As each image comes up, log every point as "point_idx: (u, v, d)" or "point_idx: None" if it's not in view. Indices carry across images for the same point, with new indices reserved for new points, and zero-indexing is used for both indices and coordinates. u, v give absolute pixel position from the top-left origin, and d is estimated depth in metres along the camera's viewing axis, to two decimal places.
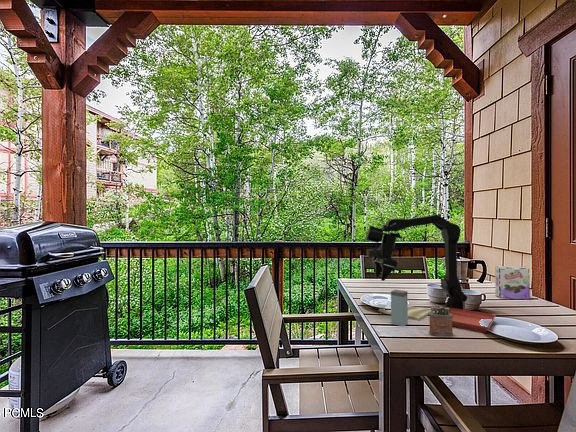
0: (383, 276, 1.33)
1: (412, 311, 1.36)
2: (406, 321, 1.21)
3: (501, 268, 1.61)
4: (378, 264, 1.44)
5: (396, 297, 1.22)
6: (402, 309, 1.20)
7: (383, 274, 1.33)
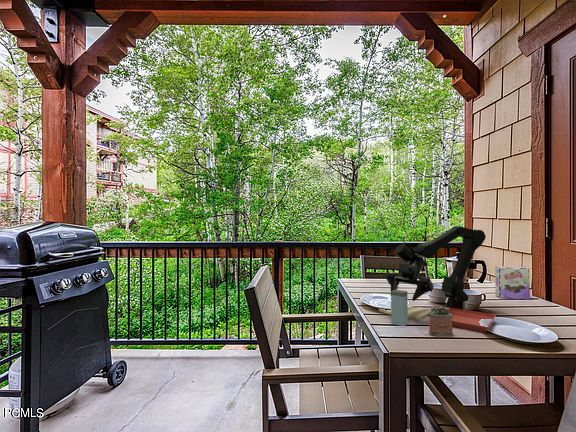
0: (416, 296, 1.22)
1: (412, 311, 1.36)
2: (406, 321, 1.21)
3: (501, 268, 1.61)
4: (395, 283, 1.31)
5: (396, 297, 1.21)
6: (402, 309, 1.20)
7: (417, 294, 1.22)
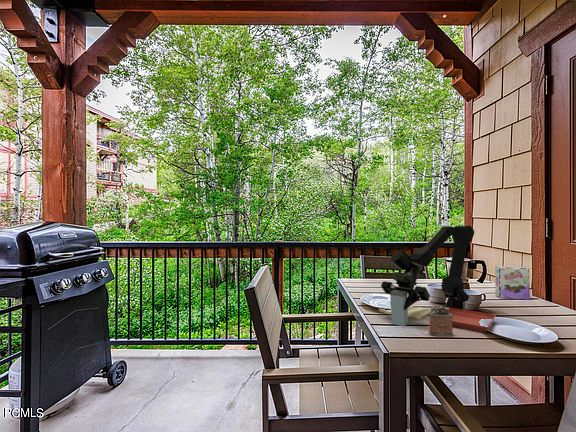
0: (407, 305, 1.20)
1: (412, 311, 1.36)
2: (406, 321, 1.21)
3: (501, 268, 1.61)
4: None
5: (396, 297, 1.21)
6: (402, 309, 1.20)
7: (408, 303, 1.20)
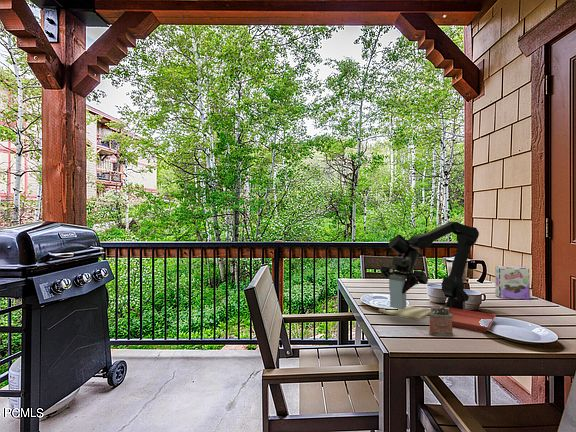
0: (405, 289, 1.22)
1: (412, 311, 1.36)
2: (405, 304, 1.24)
3: (501, 268, 1.61)
4: None
5: (394, 281, 1.23)
6: (401, 293, 1.22)
7: (406, 287, 1.22)
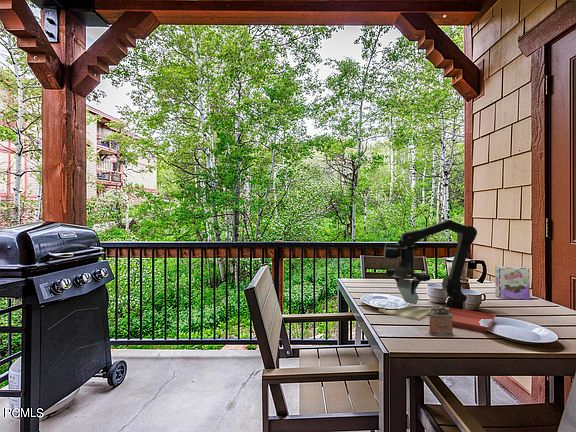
0: (414, 290, 1.37)
1: (412, 311, 1.36)
2: (417, 297, 1.42)
3: (501, 268, 1.61)
4: None
5: (403, 288, 1.38)
6: (411, 295, 1.38)
7: (414, 289, 1.37)
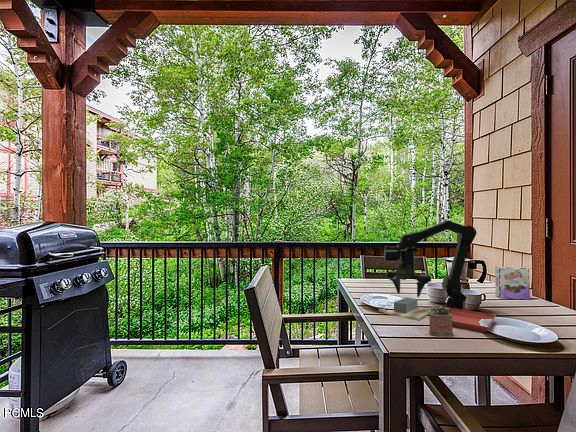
0: (419, 293, 1.36)
1: (412, 311, 1.36)
2: (416, 302, 1.40)
3: (501, 268, 1.61)
4: (397, 280, 1.44)
5: None
6: (410, 310, 1.37)
7: (419, 291, 1.36)
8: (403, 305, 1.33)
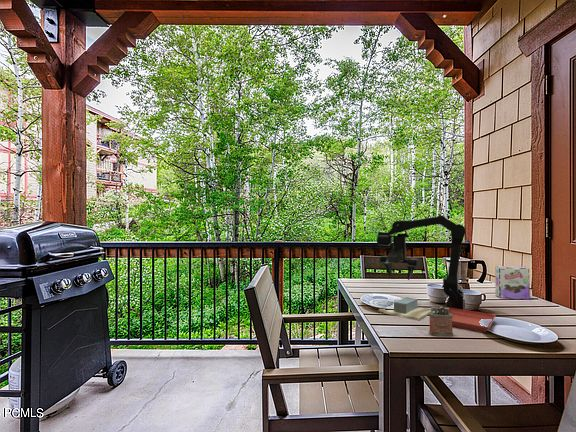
0: (410, 275, 1.45)
1: (412, 311, 1.36)
2: (416, 302, 1.40)
3: (501, 268, 1.61)
4: (389, 264, 1.52)
5: None
6: (410, 310, 1.37)
7: (410, 274, 1.44)
8: (403, 305, 1.33)
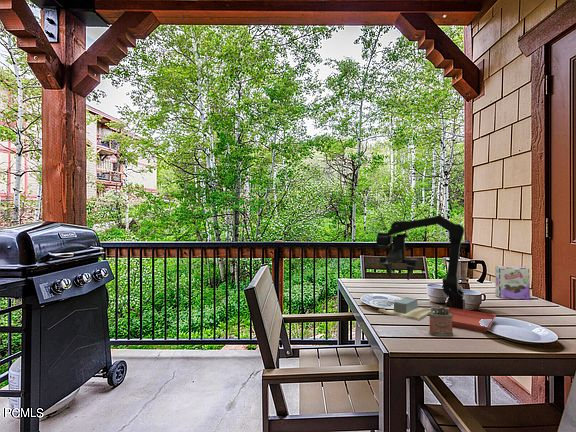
0: (409, 276, 1.46)
1: (412, 311, 1.36)
2: (416, 302, 1.40)
3: (501, 268, 1.61)
4: (389, 265, 1.53)
5: None
6: (410, 310, 1.37)
7: (409, 274, 1.45)
8: (403, 305, 1.33)
